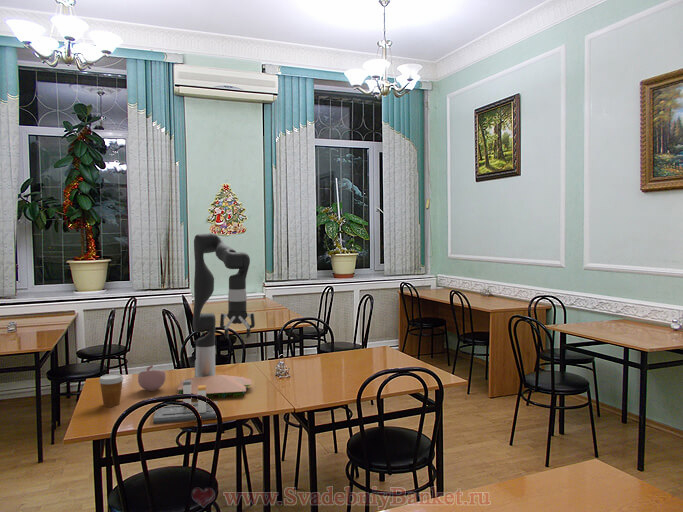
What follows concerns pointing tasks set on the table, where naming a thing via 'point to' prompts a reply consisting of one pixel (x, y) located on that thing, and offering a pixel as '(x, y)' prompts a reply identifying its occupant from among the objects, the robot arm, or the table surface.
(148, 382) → the pink apple
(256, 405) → the table surface
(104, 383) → the disposable coffee cup
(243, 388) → the pink cutting board
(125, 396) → the table surface
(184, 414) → the console
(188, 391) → the white fader
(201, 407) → the orange fader
